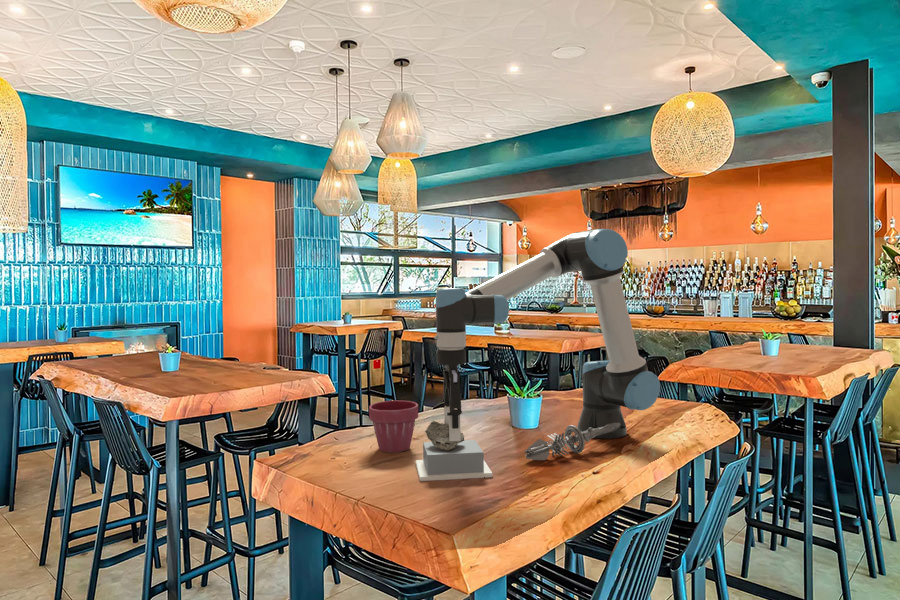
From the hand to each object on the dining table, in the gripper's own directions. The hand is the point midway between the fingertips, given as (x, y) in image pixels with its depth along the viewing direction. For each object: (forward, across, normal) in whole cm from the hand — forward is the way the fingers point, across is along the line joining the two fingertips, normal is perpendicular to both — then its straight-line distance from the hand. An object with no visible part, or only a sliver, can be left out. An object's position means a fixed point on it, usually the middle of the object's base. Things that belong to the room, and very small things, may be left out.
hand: (452, 435), depth 151 cm
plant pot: (+9, -23, -14) cm, 28 cm away
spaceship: (+9, -10, +36) cm, 38 cm away
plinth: (+9, 0, 0) cm, 9 cm away
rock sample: (+3, 0, -1) cm, 3 cm away
